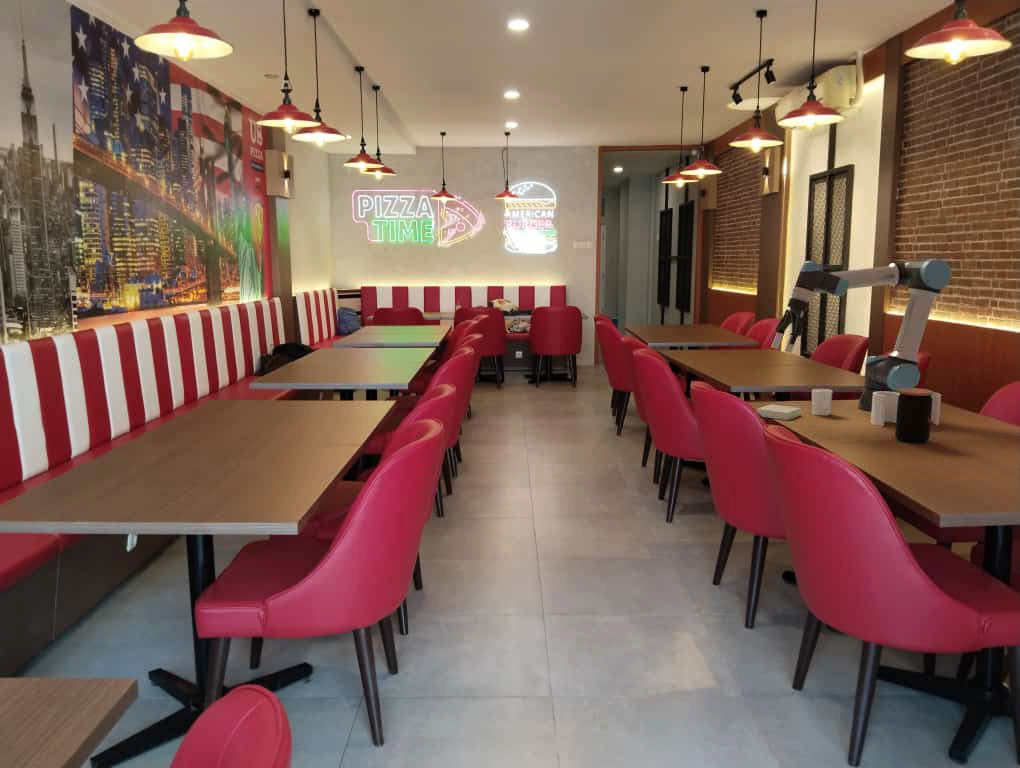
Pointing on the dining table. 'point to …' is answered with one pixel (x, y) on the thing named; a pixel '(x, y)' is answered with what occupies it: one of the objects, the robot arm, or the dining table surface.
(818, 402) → the white cup
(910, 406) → the coffee jar
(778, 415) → the plinth
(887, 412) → the bracket
